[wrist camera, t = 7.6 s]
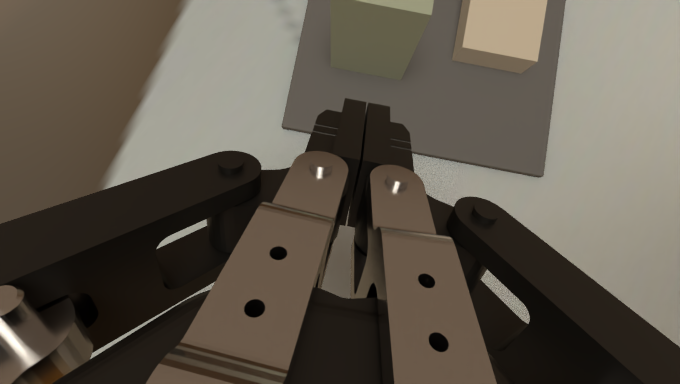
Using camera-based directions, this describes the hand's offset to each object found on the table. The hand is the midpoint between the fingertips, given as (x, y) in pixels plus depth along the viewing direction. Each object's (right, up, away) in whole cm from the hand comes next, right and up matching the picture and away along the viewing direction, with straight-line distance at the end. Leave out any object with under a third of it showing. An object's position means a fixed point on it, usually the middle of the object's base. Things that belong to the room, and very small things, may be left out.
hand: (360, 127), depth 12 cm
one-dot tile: (+2, +9, +18) cm, 20 cm away
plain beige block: (+12, +9, +17) cm, 22 cm away
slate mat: (+7, +9, +18) cm, 21 cm away
